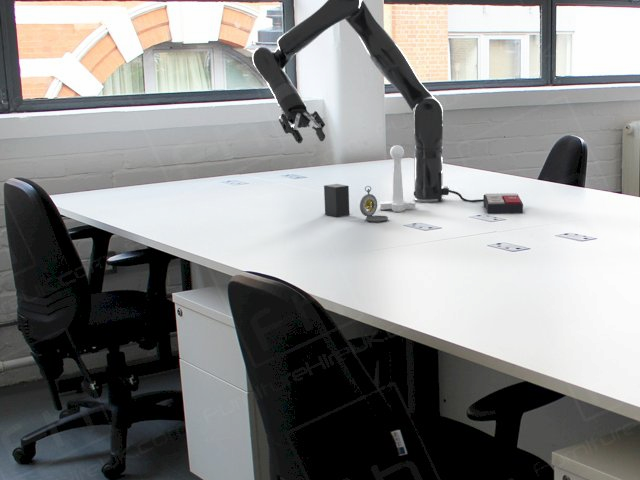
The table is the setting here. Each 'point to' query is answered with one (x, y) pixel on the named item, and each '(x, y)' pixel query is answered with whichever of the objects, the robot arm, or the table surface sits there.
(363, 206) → the pocket watch
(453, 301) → the table surface
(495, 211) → the control box
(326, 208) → the dark grey rectangular block
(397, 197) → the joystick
